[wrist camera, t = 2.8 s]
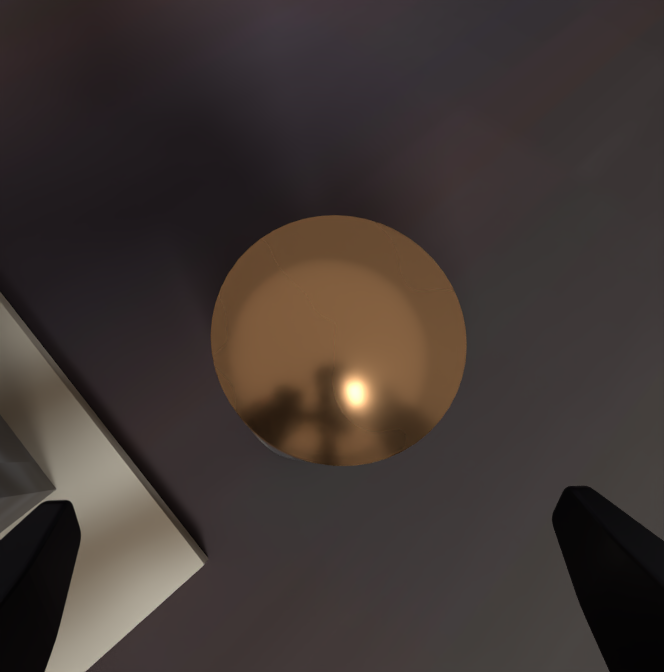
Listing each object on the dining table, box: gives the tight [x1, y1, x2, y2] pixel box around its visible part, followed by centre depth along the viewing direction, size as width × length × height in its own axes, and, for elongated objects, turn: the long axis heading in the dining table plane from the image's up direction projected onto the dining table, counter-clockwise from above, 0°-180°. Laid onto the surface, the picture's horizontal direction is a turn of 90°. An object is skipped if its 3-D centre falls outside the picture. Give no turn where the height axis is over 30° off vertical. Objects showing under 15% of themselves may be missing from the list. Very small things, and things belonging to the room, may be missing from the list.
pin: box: [211, 215, 467, 466], centre depth 13 cm, size 4×4×12 cm
